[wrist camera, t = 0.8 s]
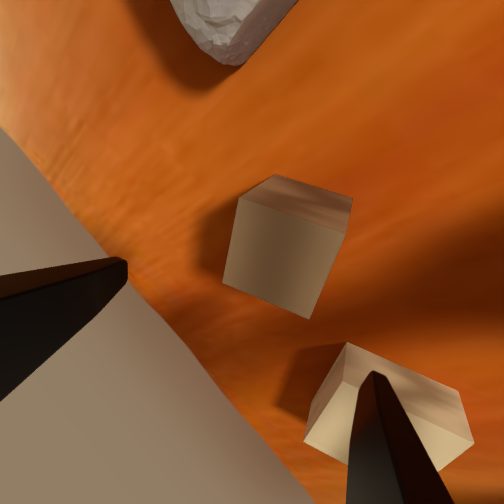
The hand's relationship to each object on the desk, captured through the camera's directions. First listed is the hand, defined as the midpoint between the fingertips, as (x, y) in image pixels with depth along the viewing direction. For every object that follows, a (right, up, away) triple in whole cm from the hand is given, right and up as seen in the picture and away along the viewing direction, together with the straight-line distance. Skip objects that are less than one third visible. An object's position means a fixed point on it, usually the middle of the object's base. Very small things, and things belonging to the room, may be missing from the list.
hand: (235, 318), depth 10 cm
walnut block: (+4, +4, +9) cm, 11 cm away
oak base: (+11, -9, +13) cm, 19 cm away
